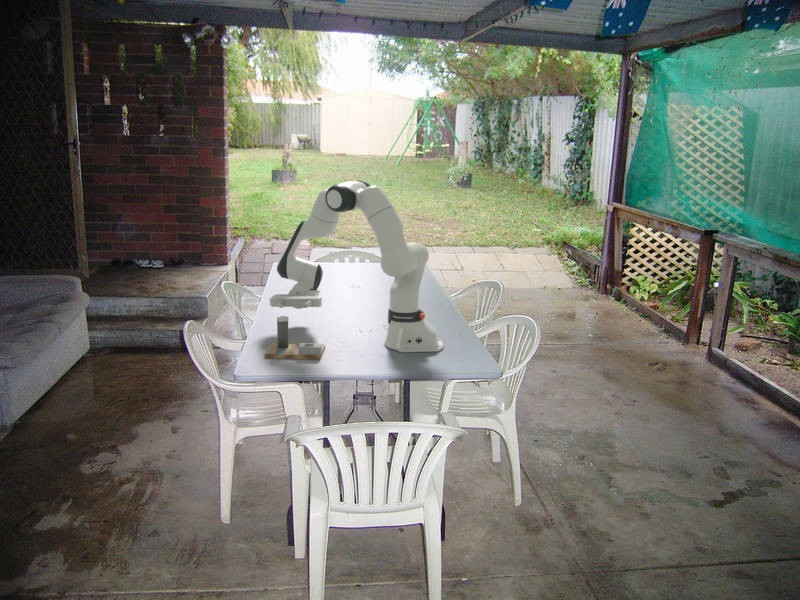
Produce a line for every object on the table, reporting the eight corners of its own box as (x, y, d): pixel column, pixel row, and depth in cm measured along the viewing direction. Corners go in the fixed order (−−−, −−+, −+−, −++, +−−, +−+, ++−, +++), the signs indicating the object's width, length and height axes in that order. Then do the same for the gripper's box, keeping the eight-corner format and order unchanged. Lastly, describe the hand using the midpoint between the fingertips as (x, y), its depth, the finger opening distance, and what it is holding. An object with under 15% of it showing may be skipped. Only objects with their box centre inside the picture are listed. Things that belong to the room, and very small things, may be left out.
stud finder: (322, 351, 248) (322, 343, 247) (320, 355, 244) (320, 347, 243) (300, 350, 248) (300, 342, 247) (298, 354, 244) (298, 346, 243)
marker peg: (289, 344, 253) (289, 316, 251) (287, 348, 249) (287, 319, 246) (278, 344, 253) (278, 316, 251) (276, 348, 249) (275, 319, 247)
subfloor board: (325, 348, 256) (325, 344, 255) (320, 359, 243) (320, 355, 243) (272, 346, 256) (271, 342, 256) (264, 357, 244) (264, 353, 243)
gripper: (272, 289, 274) (265, 297, 260) (323, 289, 273) (319, 297, 260) (273, 304, 275) (266, 313, 262) (324, 304, 275) (319, 313, 261)
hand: (293, 305), depth 261 cm, fingers open, 8 cm apart
